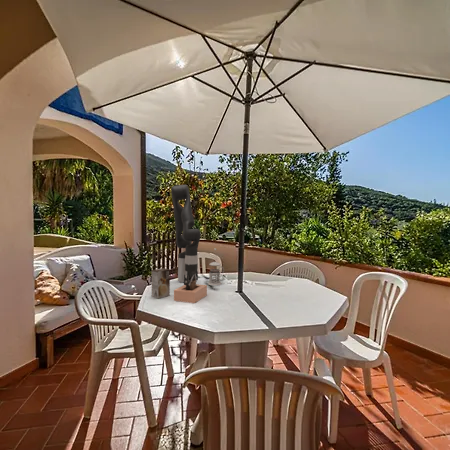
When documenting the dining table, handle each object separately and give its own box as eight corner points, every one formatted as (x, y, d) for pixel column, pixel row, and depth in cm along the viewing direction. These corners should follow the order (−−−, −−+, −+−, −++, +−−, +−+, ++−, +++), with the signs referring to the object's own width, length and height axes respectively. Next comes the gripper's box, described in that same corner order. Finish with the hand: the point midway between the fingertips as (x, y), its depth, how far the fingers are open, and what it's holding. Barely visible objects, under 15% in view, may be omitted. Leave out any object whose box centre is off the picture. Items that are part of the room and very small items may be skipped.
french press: (205, 282, 226) (206, 247, 224) (220, 281, 231) (221, 247, 229) (210, 285, 217) (211, 249, 216) (226, 284, 222) (226, 248, 220)
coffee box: (162, 293, 195) (163, 267, 194) (170, 295, 191) (170, 269, 190) (151, 296, 188) (151, 270, 187) (158, 298, 184) (158, 271, 183)
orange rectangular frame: (187, 292, 198) (187, 283, 197) (206, 295, 194) (207, 285, 193) (173, 300, 181) (173, 290, 180) (194, 303, 177) (194, 292, 176)
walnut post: (189, 296, 190) (189, 279, 189) (195, 297, 189) (195, 280, 188) (186, 298, 186) (186, 281, 186) (192, 298, 185) (192, 281, 184)
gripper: (190, 260, 194) (190, 286, 195) (180, 264, 181) (179, 292, 181) (202, 261, 192) (201, 287, 192) (192, 265, 178) (191, 293, 179)
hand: (191, 290), depth 187 cm, fingers open, 8 cm apart
